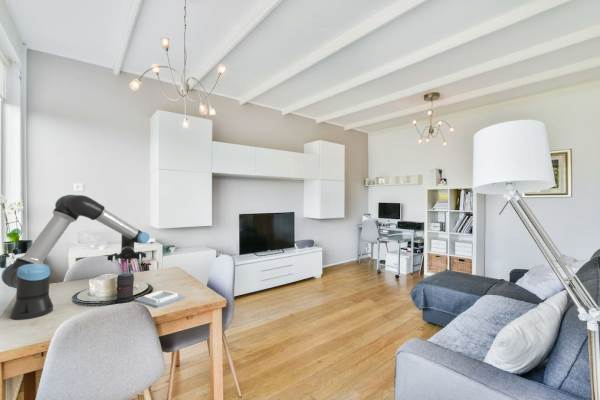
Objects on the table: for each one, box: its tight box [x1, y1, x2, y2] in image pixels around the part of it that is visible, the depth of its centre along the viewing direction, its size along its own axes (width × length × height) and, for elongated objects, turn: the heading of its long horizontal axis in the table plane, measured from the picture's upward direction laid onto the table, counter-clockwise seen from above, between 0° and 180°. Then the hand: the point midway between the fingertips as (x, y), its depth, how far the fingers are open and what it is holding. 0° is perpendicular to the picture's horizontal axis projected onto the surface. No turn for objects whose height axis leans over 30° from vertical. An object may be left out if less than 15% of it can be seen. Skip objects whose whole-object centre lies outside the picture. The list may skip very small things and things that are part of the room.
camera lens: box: [116, 272, 135, 304], centre depth 158 cm, size 8×8×15 cm
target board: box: [134, 289, 186, 309], centre depth 162 cm, size 20×18×3 cm
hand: (127, 259), depth 167 cm, fingers open, 13 cm apart
